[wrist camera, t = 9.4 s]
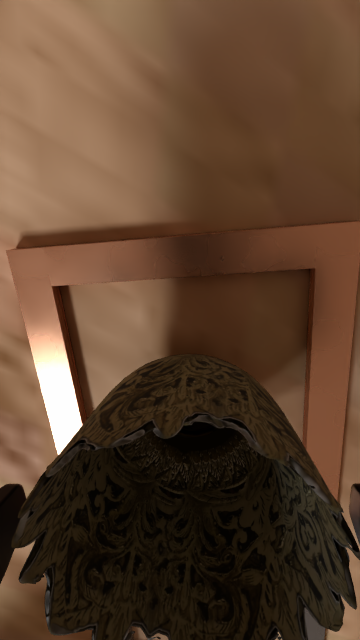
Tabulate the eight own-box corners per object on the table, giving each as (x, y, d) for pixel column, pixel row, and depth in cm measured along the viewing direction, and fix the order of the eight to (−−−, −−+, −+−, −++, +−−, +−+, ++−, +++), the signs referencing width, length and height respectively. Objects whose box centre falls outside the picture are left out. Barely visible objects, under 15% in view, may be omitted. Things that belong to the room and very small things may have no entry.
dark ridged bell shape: (307, 337, 13) (443, 510, 6) (247, 472, 16) (284, 719, 8) (131, 286, 13) (27, 392, 5) (98, 430, 15) (-5, 640, 8)
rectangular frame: (317, 669, 20) (320, 682, 20) (115, 657, 22) (113, 669, 21) (355, 220, 12) (363, 221, 11) (14, 248, 13) (5, 250, 12)
